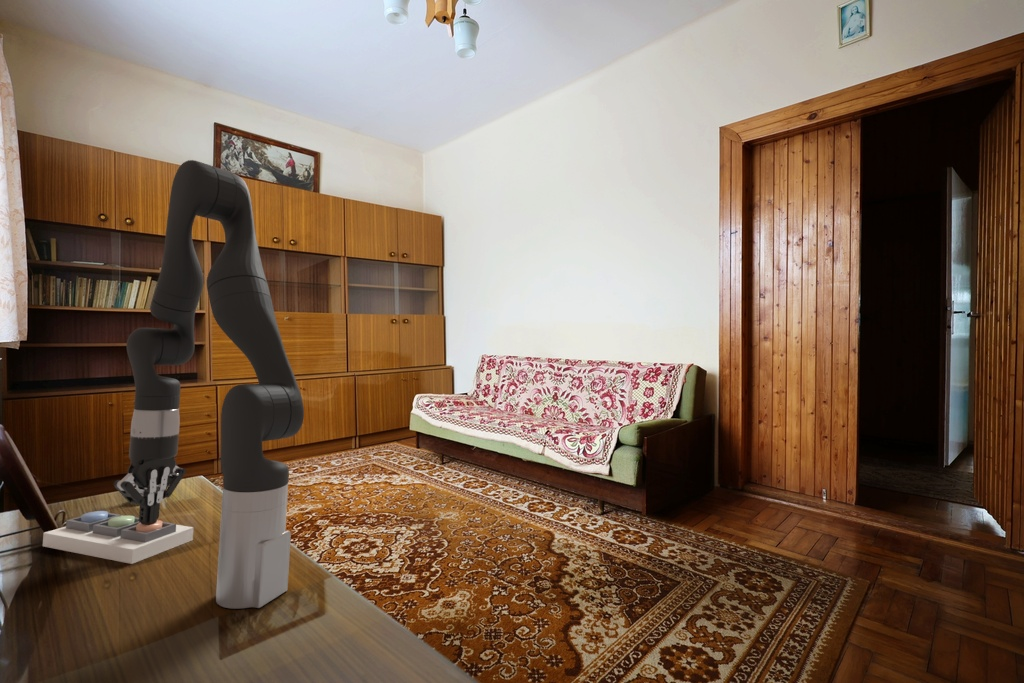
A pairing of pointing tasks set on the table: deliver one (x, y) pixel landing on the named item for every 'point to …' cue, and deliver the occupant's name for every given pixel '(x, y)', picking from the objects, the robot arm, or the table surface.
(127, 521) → the sage button
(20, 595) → the table surface
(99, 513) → the slate button
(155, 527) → the salmon button
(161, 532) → the button panel
